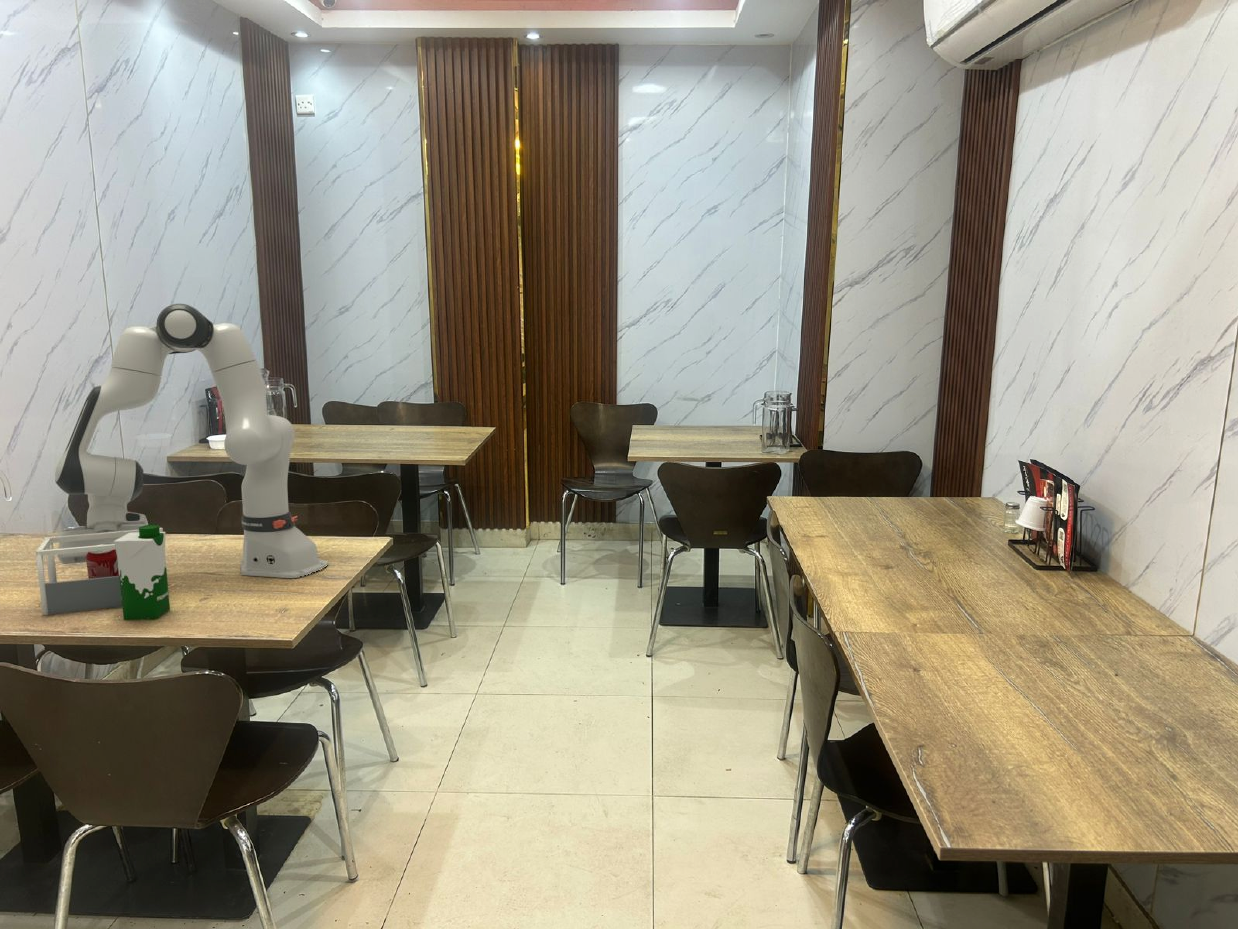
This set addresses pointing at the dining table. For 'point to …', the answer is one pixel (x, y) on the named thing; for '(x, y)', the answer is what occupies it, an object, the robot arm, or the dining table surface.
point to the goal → (77, 591)
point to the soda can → (102, 563)
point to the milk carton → (143, 573)
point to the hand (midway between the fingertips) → (106, 574)
